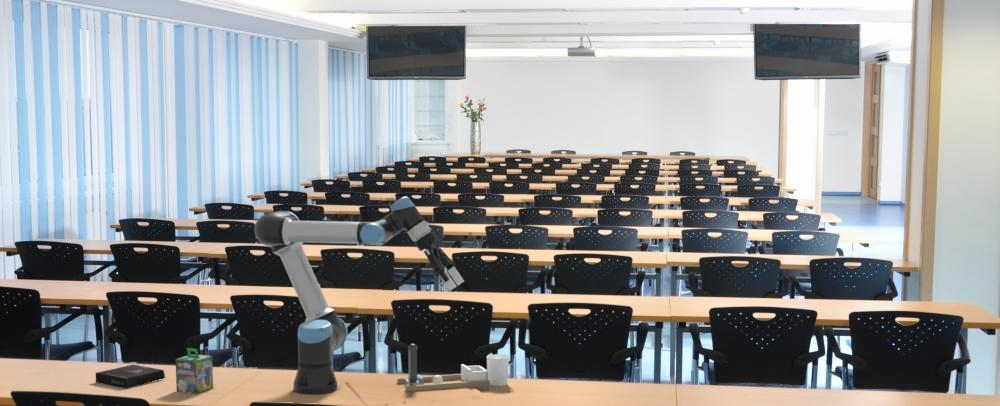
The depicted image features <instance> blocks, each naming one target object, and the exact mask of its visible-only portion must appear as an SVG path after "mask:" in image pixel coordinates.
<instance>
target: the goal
mask: <svg viewBox="0 0 1000 406" xmlns="http://www.w3.org/2000/svg"><path fill="white" fill-rule="evenodd" d="M460 374H461V379H460V380H461V381H464V382H466V381H479V380H488V371H487V368H484V367H483V366H481V365H479V364H478V365H466V364H464V363H462V364H460Z"/></svg>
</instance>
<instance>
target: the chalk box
mask: <svg viewBox="0 0 1000 406" xmlns="http://www.w3.org/2000/svg"><path fill="white" fill-rule="evenodd" d="M191 352H194V354H192V353H191ZM186 353H187V355H185V356H181V357H179V358H176V359H175V380H176V381H175V382H176V385H175V387H176V392H181V391H182V392H181V393H188V392H191V393H190V394H194V393H197V394H199V392H200V393H202V391H203V392H205V391H208V390H210V389H214V373H213V356H212V355H207V354H206V355H205V354H199V349H198V348H192V347H187V348H186Z"/></svg>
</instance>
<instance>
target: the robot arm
mask: <svg viewBox="0 0 1000 406" xmlns="http://www.w3.org/2000/svg"><path fill="white" fill-rule="evenodd" d="M389 207H390V210H391V212H389V214H387V215H386V216H384V217H383V218H381V219H380V220H376V221H334V220H333V221H329V220H328V221H327V220H326V221H325V220H324V221H323V220H321V221H320V220H300V218H299V217H298V216H297V215H296V214H295V213H293V212H292V211H287V210H278V211H275V212H270V213H265V214H263V215H261V216H260V217H259V218H257V220H256V222H255V224H254V235H255V238H256V240H258V241H259V243H261V244H262V245H264V246H267V247H270V248H271V250H272V252H273V254H274V255H277V256H278V257H280V260H281V262H282V263H283V264H282V265H283V266H284V269H285V271H286V274H287V275H288V278H289V281H290V282H291V284H292V287H293V289H294V291H295V293H296V295H297V298H298V300H299V302H300V305H301V307H302V309H303V312H304V313H305V317H306V318H305V320H304V322H301V324H299V326H298V329H297V330H298V331H297V354H298V355H297V357H298V360H297V361H298V364H297V365H298V367H297V372H296V375H295V378H294V381H293V387H292V388H293V391H294V392H295V393H299V394H305V395H318V394H320V395H321V394H327V393H332V392H334V391H336V390H338V380H337V377H336V375H335V371H334V368H333V352H334V351H337V350H339V349H340V348H342V346H343V345H344V344H345V343H346V341H347V338H348V334H349V333H348V327H347V323H345V321H344V320H343V319H342V318H340V317H338V315H337V312H336V310H335V309H334V308H332V307H330V306H329V304H328V302H327V300H326V298H325V296H324V294H323V291H322V289H321V286H320V284H319V282H318V280H317V277H316V275H315V273H314V271H313V269H312V266H311V264H310V261H309V259H308V257H307V255H306V253H305V251H304V249H303V244H304V243H311V244H315V243H317V244H319V243H320V244H355V245H356V244H361V245H367V246H376V247H381V246H383V245H384V244H386V243H388V242H389V241H390V240H391V239H393V238H394V237H395V236H397V235H398V234H399V233H401V232H402V231H404V230H405V232H406V233H407V234H408V236H409V237H410V239H411V240H412V242H415V244H414V245H415V246H416V248H417V249H418V250H419V251H420V252H423V253H424V255H425V257H426V258H427V260H428V262H429V264H430V265H431V267H432V270H433V271H434V273H435V276H436V277H439V278H440V279H441V280H442V282H443V284H444V285H445V286H446V287H447V289H448V290H449V291H450V292H451V291H453V290H454V289H455V288H457V286H460V285H461V284H462V283H464V282H465V280H464V279H463V277H462V276H461V274H460V272H459V271H458V270H457V268H456V267H455V266H456V265H457V264H456V263H455V262H454V261H452V259H451V258H450V256H448V255H447V253H446V252H445V251H444V250H443V249H442V248H441V247H440V245H439V244H438V243H436V242H437V241H438V237H437V236H436V235H435V233H434V231H431V227H430V226H429V221H426V220H425V219H424V218H423V216H422V214H421V213H420V212H419V210H418V209H417V207H416V205H415V204H414V203H413V202H412V200H411V199H410V198H409V197H408V196H402V197H400V198H399V199H397V200H396V201H394V202H393V203H392V204H391V205H390V206H389ZM445 269H447V271H446V270H445Z"/></svg>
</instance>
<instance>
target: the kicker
mask: <svg viewBox="0 0 1000 406" xmlns="http://www.w3.org/2000/svg"><path fill="white" fill-rule="evenodd" d="M407 350H408V378H409V379H405V383H404V385H405V386H411V385H425V384H424V383H425V382H424V378H423V376H421V374H418V346H417V344H415V343H410V344H409V345H408V347H407Z"/></svg>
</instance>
